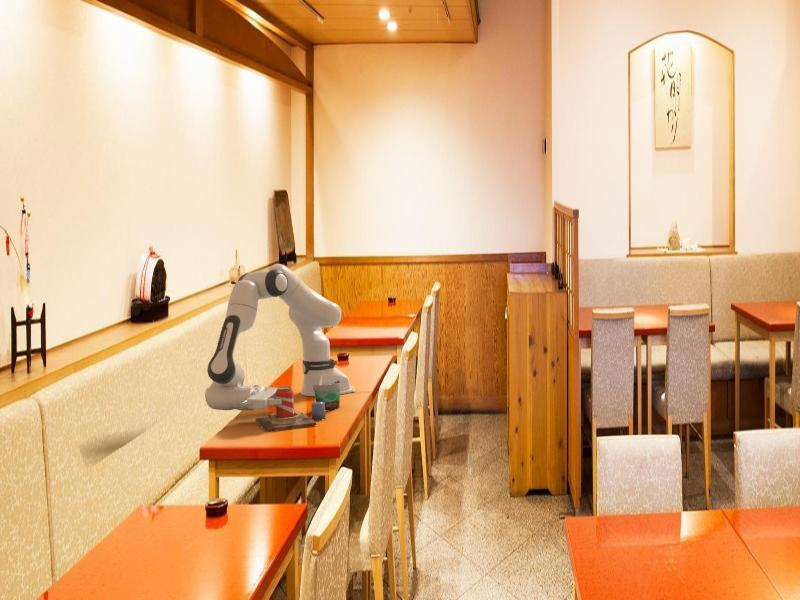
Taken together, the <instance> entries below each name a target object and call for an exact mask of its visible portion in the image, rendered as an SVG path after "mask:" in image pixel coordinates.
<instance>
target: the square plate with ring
mask: <svg viewBox="0 0 800 600" xmlns="http://www.w3.org/2000/svg"><path fill="white" fill-rule="evenodd" d="M254 420H255V421H256V422H255V421H254V422H255V423H257V425H259V426H260V427H261V428H263V430H265V431H266V432H267V431H268V432H267V433H270V432H271V431H272V432H277V431H276V430H279V431H284V430H283V429H287V430H293V429H292V428H295V429H301V428H300V427H303V428H309V427H308V426H311V427H315V426H314V425H317V422H316V420H312V417H309V416H308V415H307V414H305V413H303V412H300V411H294V417H288V418H277V415H276V412H273V413H271V414H268V416H263V417H256V418H254Z"/></svg>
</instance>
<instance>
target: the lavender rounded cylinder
mask: <svg viewBox="0 0 800 600" xmlns="http://www.w3.org/2000/svg"><path fill="white" fill-rule="evenodd" d="M310 404H311V405H310V406H311V407H310V408H311V419H314V421H323V420H322V419H324V420H325V419H326V411H325V402H316V401H313V402H311V403H310Z"/></svg>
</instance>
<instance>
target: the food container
mask: <svg viewBox="0 0 800 600" xmlns="http://www.w3.org/2000/svg"><path fill="white" fill-rule="evenodd" d="M340 388H342V385H341V383H340V381H338V380H337V383H333V384H324V385H314V387H313V390H314V391H315V396H314V398H315V402H325V410H329V411H335V409H336V410H338V409H340V403H341V402H340V400H341V398H340V397H341V394H340Z"/></svg>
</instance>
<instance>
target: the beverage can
mask: <svg viewBox="0 0 800 600" xmlns="http://www.w3.org/2000/svg"><path fill="white" fill-rule="evenodd" d="M276 388H277V391H276V393H275V394H276V399H277V398H279V399H280V398H281V399H282V403H281V404H275V409H276V412H275V413H276V415H277V418H288V417H294V412H295V409H294V408H295V407H294V406H295V405H294V391H293V389H292V386H284V385H283V386H278V387H276Z"/></svg>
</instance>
